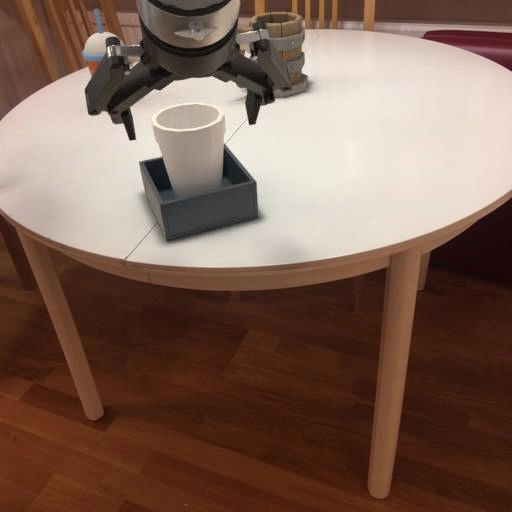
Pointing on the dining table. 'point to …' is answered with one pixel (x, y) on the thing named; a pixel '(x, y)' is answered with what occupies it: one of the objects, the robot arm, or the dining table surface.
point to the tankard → (284, 45)
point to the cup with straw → (96, 45)
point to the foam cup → (191, 146)
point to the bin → (200, 199)
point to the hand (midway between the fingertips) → (191, 121)
